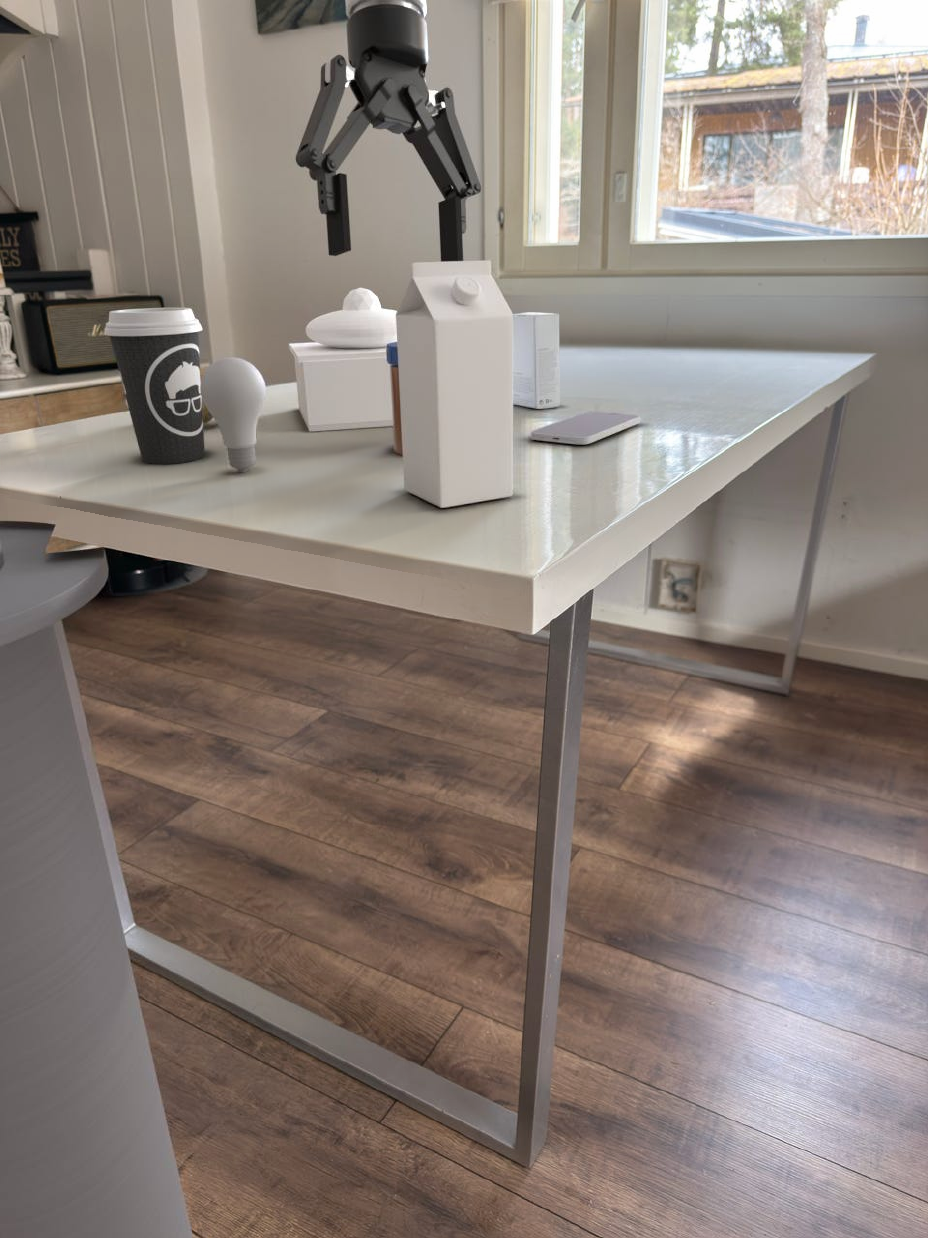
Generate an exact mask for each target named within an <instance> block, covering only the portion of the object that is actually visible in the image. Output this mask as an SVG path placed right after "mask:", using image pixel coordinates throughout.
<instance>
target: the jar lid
mask: <svg viewBox="0 0 928 1238" xmlns="http://www.w3.org/2000/svg"><path fill="white" fill-rule="evenodd" d="M386 355H387V362H388V364H391V365H397V366H398V349H397V342H393V343H389V344H387V349H386Z"/></svg>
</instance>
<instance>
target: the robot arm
mask: <svg viewBox="0 0 928 1238" xmlns="http://www.w3.org/2000/svg"><path fill="white" fill-rule="evenodd" d="M344 1H345V15H346V16H347V18H348V20H347V22H346V40H347V41H346V42H347V57H348V59H347V60H348V63H349V64H347V60H346V58H345V57H344V56H343V55H341V54H337V55H335V56H334V57H332V58H331V59H329V60H328V61H327V62H325V63H323V64H322V66H321V67H320V87H319V88H320V89H319V92H318V94H317V97H316V100H315V103H314V105H313V108H312V111H311V114H310V116H309V119H308V122H307V124H306V126H305V130H304V133H303V134H302V138H301V141H300V144H299V146H298V149H297V152H296V154H295V162H296V164H297V166H298V167H300V168H306V169H308V174H309V177H310V178H311V179H312V180H313V181H316V186H317V200H318V202H317V203H318V210H319V212H320V214H321V215H325V219H326V234H327V250H328V251H327V252H328V256H333V257H337V256H340V255H343V254H345V253H348V252H351V251H352V242H351V241H352V240H351V239H352V238H351V223H350V211H349V207H350V206H349V195H348V194H349V193H348V176H347V174H346V173H342V172H339V173H337V171H338V170H339V169H340V167H341V166H342V164H343V163H344V161H345V160H346V159H347V157H348V156H349V154H350V153H351V151H352V150H353V148H354V147H355V145H356V144H357V143H358V141H359V140H360V138H361V137H362V136H363V134H364V132H365V131H366V130H367V129H368V127H369V126H370V124H371V126H372V129H376V130H387V131H389V132H391V133H392V134H396V135H400V134H402V136H403V137H404V139H405V140H406V142H407V143H409V144H411V145H412V146H413V147H414V149H415V151H416V152H417V154H418V156H419V158H420V159H421V161H422V163H423V165H424V166H425V168H426V170H427V171H428V173H429V175H430V177H431V178H432V180H433V181H434V183H435V185H436V187H437V188H438V190H439V192H440V194H441V195H442V198H443V199H444V200H441V201H438V203H437V204H438V225H439V226H438V228H439V249H440V252H439V253H440V262H449V261H464V246H463V245H464V243H463V234H466V231H467V213H466V212H467V210H466V206H467V205H466V203H467V199H468V198H470V197H473V196H476V195H478V194H480V193H481V191H482V185H481V183H480V180H479V177H478V173H477V171H476V169H475V165H474V163H473V160H472V157H471V154H470V152H469V149H468V146H467V143H466V139H465V138H464V135H463V132H462V129H461V125H460V123H459V120H458V118H457V115H456V109H455V101H454V99H455V98H454V93H453V91H452V89H451V88H450V87H448V86H447V87H445V88H442V89H441V90H433V89H429V87H428V84H427V81H426V72H427V71H426V70H427V66H428V63H429V46H428V45H429V43H428V42H429V41H428V24H427V21H426V19H425V17H426V15H427V12H428V11H427V0H344ZM348 87H349V88H350V91H351V92H352V94H353V96H354V98H355V100H356V102H357V103H356V105H354V106H353V108H352V110H351V111H350V113H349V114H348V116H347V117H346V121H345V122H344V124H343V125H342V126H341V128H340V129H339V130H338V132H337V133H336V135H335V136H334V137H333V139H332V141H330V143H329V144H328V146H327V147H326V149H325V146H326V143H327V140H328V139H329V138H328V137H329V134H330V132H331V129H332V127H333V124H334V121H335V118H336V116H337V113H338V110H339V107H340V104H341V102H342V99H343V97H344V93H345V90H346V88H348ZM417 123H419V126H417V127H415V126H416V125H417ZM324 149H325V151H324ZM323 151H324V152H323ZM3 565H4V556H3V551H2V547H1V543H0V569H1V568H2V567H3Z"/></svg>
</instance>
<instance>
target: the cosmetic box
mask: <svg viewBox="0 0 928 1238" xmlns="http://www.w3.org/2000/svg"><path fill="white" fill-rule="evenodd" d="M560 368H561V367H560V313H553V312H538V311H537V312H536V311H535V312H533V311H528V312H520V313H519V312H518V313H513V405H515V406H521V407H525V408H530V409H536V410H544V409H552V408H559V407H560V404H561V391H560V389H561V382H560V380H561V379H560V378H561V377H560V374H561V373H560Z"/></svg>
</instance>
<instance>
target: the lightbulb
mask: <svg viewBox="0 0 928 1238" xmlns="http://www.w3.org/2000/svg"><path fill="white" fill-rule="evenodd" d="M206 368H207V369H206V371H205V372H204V374H203V376H202V379H201V385H200V391H201V396H202V399H203V402H204V404H205V406H206V407H207V409H208V410H209V412H210V413H211V415H212V416H213V419H214V420H215V422H216V424H217V426H218V429H219V430H220V434H221V438H222V443H223V445H224V446H225V448H226V452H227V457H228V463H229V466H230V467H231V468H233V469H236V470H237V471H238V472H239V473H246V472H248V471H249V470H250V468H252V467H254V466H255V464H256V449H255V445H256V443H257V425H258V421H259V417H260V414H261V412H262V410H263V407H264V404H265V401H266V396H267V387H266V383H265V379H264V378H263V375H262V374H261V372H260V371H259V370H258V368H257V367H256V366H255V365H254V364H253V363H251V362H249V361H248V360H245V359H243V358H239V357H236V356H235V357H234V356H227V357H223V358H219V359H217V360H215V361H214V362H212V363H211V364H210V365H208V366H207V367H206Z"/></svg>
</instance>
